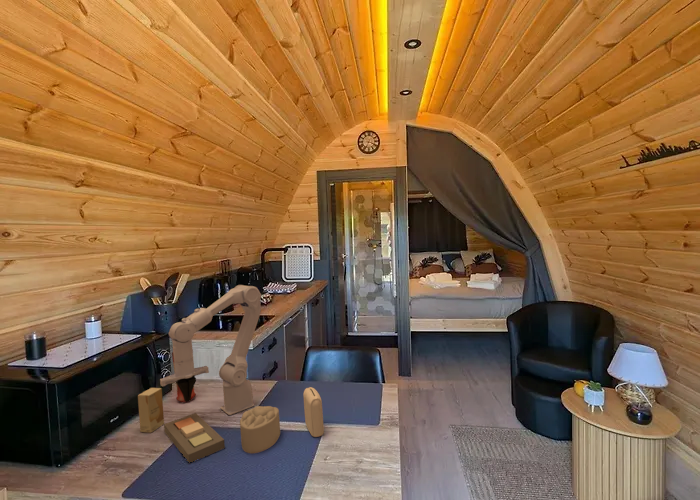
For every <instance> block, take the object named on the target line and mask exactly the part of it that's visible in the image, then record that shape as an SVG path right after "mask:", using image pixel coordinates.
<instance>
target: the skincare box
mask: <svg viewBox="0 0 700 500" xmlns="http://www.w3.org/2000/svg"><path fill="white" fill-rule="evenodd" d="M163 402H164V401H163V388H161V387H149V389H147V390H144V391H142V392H141V393H139V394H138V395H137V404H138V405H137V406H138V417H139V431H140V433H154V431H156V430H157V429H159V428H160V427H162V426H164V424H165V417H164V415H165V414H164V404H163Z"/></svg>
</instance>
